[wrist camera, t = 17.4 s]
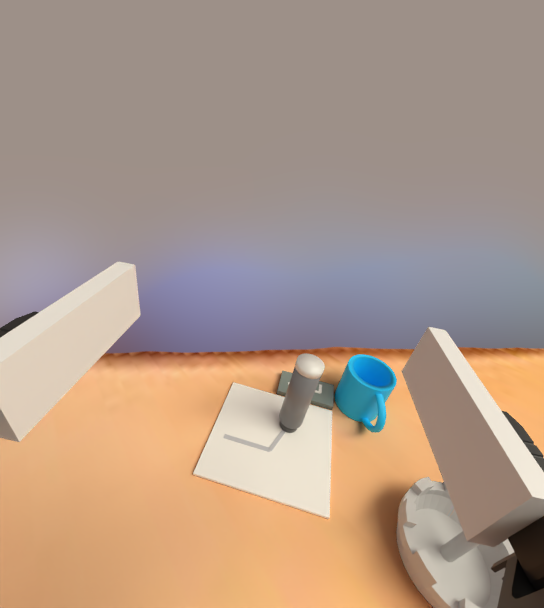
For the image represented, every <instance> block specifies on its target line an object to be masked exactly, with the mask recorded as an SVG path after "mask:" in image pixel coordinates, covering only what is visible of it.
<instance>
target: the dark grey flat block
mask: <svg viewBox="0 0 544 608" xmlns="http://www.w3.org/2000/svg"><path fill="white" fill-rule="evenodd" d="M292 374H293V373H289V372H286V371H282V375H281V379H280V383H279V387H278V391H277V394H278V395H281V396H285V395H286V392H287V389H288V386H289V383H290V380H291V377H292ZM333 398H334V385H332V384H328V383H325V382H321V381H319V383H318V385H317V388H316V390H315V393H314V395H313V398H312V400H311V403H310V404H312V405H316V406H319V407H323V408H326V409H329V410H332V408H333Z"/></svg>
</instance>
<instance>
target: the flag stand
mask: <svg viewBox="0 0 544 608" xmlns="http://www.w3.org/2000/svg"><path fill="white" fill-rule="evenodd" d="M396 534H397V544H398V549H399V553H400V556H401V559H402V561H403V564H404V567H405V569H406V571H407V573H408V575H409V577H410V578H411V580H412V581H413V583H414V585H415V586H416V588H417V589H418V591H419V592H420V593H421V594H422V595H423V597H424V598H425V599H426V600H427V602H429V603H430V604H431V605H432V606H433V607H434V608H497V606H498V601H499V597H500V592H501V587H502V582H503V580H502V577H504V573H505V568H503V569H501V570H499V571H497V572H496V573H495V572H493V571H492V570H491V567H492V566H493V564H494V563H496V562H497V561H499V560H501V559H503V558H505V557H506V556H508V555H510V554H512V553H514V550H513V548H512V546H511V544H510V542H509V540H508V539H507V540H505V541H504V542H502V543H500V544H499V545H497V546H495V547H490V546H486V545H481V544H477V543H472V542H468V541H467V540H466V537H465V535H464V532H463V529H462V527H461V524H460V522H459V519H458V516H457V514H456V511H455V509H454V506H453V503H452V501H451V498H450V496H449V493H448V490H447V488H446V485H445V483H444V482H443V483H440V482H436V481H431V480H430V478H429V477H426V478H423V479H420V480H419V481H417V482H416V483H415V484H414V485H413V486H412V487H411V488H410V489H409V490H408V491H407V492H406V494H405V495H404V496H403V498H402V500H401V503H400V505H399V511H398V522H397V530H396Z"/></svg>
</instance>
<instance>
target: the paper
mask: <svg viewBox="0 0 544 608" xmlns="http://www.w3.org/2000/svg"><path fill="white" fill-rule="evenodd" d="M284 398H285V397H282V396H279V395H275V394H272V393H268V392H265V391H261V390H258V389H255V388H251V387H248V386H244V385H241V384H237V383H234V382H233V384H232V386H231V389H230V391H229V393H228V395H227V398H226V400H225V402H224V404H223V407H222V409H221V411H220V414H219V416H218V418H217V420H216V423H215V425H214V427H213V429H212V432H211V434H210V436H209V438H208V441H207V443H206V445H205V448H204V450H203V452H202V454H201V457H200V459H199V461H198V463H197V466H196V468H195V470H194V472H193V475H195V476H198V477H201V478H204V479H207V480H210V481H213V482H216V483H219V484H222V485H226V486H229V487H232V488H235V489H238V490H241V491H244V492H247V493H250V494H253V495H256V496H259V497H262V498H265V499H268V500H271V501H275V502H278V503H281V504H284V505H287V506H290V507H293V508H296V509H299V510H302V511H305V512H308V513H311V514H314V515H317V516H321V517H324V518H327V519H329V517H330V479H331V440H332V411H330V410H327V409H323V408H320V407H317V406H313V405H309V408H308V410H307V413H306V415H305V418H304V420H303V423H302V425H301V426H300V427H299V428H297V430H296V431H295V432H293V433H288V432H285V431H284V430H282V428H281V427H280V424H279V422H280V419H279V413H280V410H281V407H282V404H283V401H284Z"/></svg>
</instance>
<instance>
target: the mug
mask: <svg viewBox="0 0 544 608" xmlns="http://www.w3.org/2000/svg"><path fill="white" fill-rule="evenodd" d="M396 380H397V379H396V376H395V373H394V372H393V371H392V369H391V368H390V367H389V366H388V365H387V364H385V363H384V362H383V361H381V360H379V359H377V358H375V357H373V356H369V355H364V354H363V355H355V356H353V357H352V358H350V359H349V362H348V364H347V366H346V368H345V371H344V373H343V375H342V378H341V380H340V382H339V384H338V387H337V389H336V391H335V395H334V397H335V402H336V404H337V406H338V408H339V409H340V410H341V411H342V413H344V414H345V415H346V416H348V417H349V418H351V419H353V420H355V421H359V422H363V424H364V425H365V427H366V428H367V429H368V430H370V431H371V432H380V431H381V430H382V429H383V427H384V425H385V420H386V407H385V402H386V400H387V399H388V397H389V395H390V394H391V392H392V390H393V389H394V387H395V385H396ZM377 415H378V418H377V422H376V425H375V426H373V425H372V424H371V423H370V421H372V420H374V419H375V418H376V417H377Z"/></svg>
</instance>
